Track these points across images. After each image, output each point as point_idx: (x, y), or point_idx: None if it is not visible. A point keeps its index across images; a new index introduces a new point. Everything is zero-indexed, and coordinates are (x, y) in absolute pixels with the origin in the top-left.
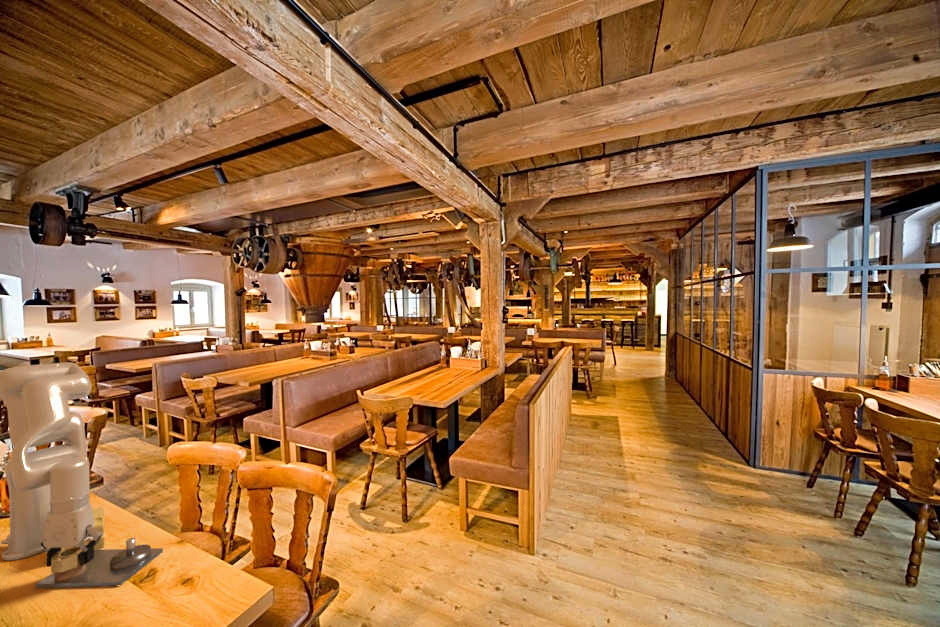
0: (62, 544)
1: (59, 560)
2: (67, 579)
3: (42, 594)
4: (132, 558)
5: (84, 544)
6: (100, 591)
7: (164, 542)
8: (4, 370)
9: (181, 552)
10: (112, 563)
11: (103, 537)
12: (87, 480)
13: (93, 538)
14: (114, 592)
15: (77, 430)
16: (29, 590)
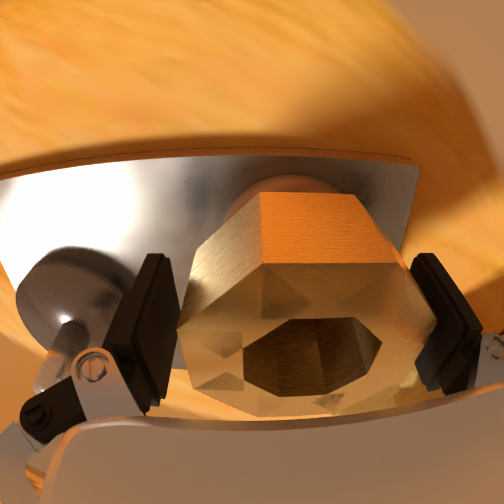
0: (306, 477)
1: (296, 258)
2: (250, 188)
3: (319, 100)
4: (36, 307)
5: (87, 420)
6: (16, 141)
7: None
8: None
9: (6, 327)
10: (76, 285)
11: (329, 413)
12: None
13: (21, 453)
14: None
15: None
16: (424, 148)
